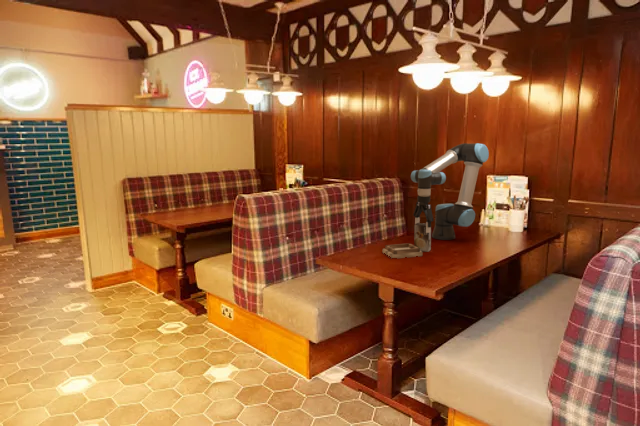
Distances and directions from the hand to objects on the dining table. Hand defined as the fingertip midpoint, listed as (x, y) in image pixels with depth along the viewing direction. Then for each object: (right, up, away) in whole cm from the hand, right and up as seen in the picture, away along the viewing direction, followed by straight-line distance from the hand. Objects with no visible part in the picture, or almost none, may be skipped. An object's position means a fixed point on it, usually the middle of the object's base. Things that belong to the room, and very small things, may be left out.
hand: (422, 230), depth 263 cm
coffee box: (0, -12, +3) cm, 13 cm away
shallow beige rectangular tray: (-14, -14, -6) cm, 21 cm away
